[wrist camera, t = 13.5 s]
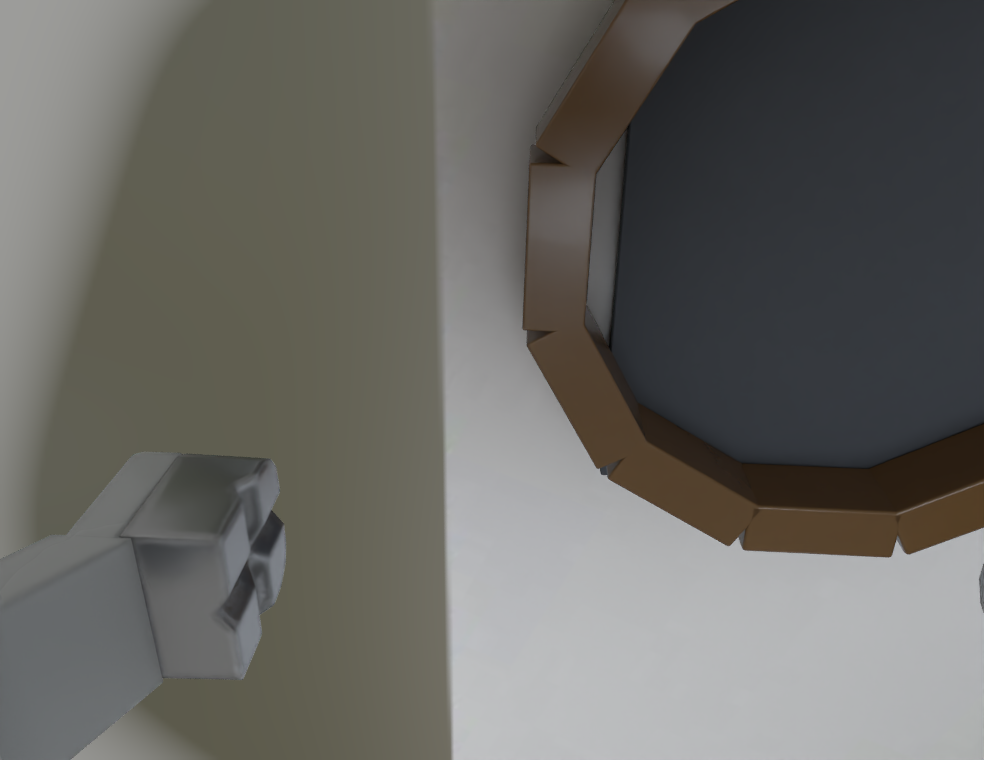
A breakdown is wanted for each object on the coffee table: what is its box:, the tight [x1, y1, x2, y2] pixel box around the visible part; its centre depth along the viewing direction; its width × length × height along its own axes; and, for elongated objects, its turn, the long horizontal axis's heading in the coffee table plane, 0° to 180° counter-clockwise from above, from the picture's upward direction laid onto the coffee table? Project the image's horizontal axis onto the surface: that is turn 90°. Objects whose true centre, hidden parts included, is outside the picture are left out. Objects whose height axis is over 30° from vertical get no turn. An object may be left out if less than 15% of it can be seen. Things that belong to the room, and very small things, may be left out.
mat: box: [600, 0, 984, 475], centre depth 23 cm, size 16×13×1 cm
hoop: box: [522, 0, 984, 557], centre depth 22 cm, size 18×18×2 cm
